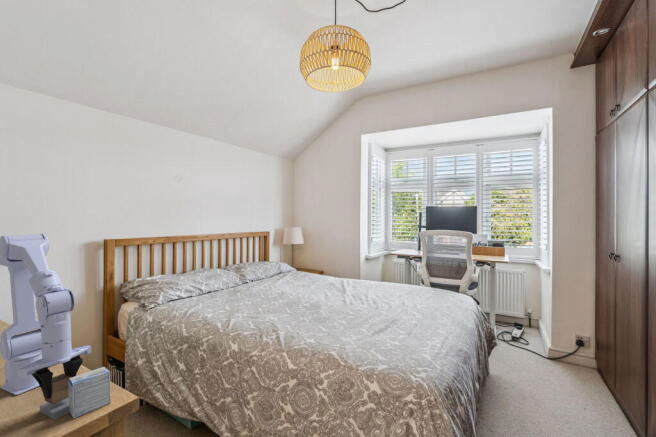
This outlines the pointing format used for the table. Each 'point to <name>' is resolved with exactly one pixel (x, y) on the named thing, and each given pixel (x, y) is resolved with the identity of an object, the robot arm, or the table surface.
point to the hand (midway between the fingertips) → (58, 392)
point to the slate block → (55, 408)
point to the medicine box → (89, 391)
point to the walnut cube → (59, 389)
